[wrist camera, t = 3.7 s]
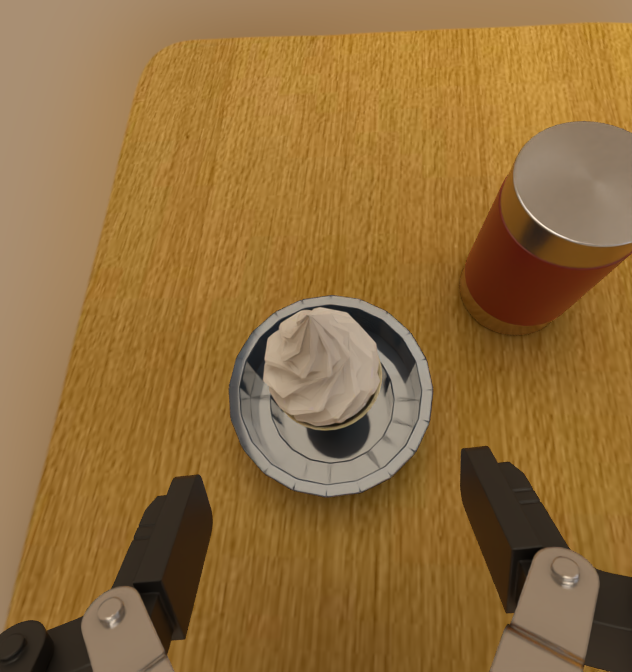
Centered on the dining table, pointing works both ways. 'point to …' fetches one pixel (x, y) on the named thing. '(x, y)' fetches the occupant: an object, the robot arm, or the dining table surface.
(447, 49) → the dining table surface
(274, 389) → the ice cream cone
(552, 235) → the tin can
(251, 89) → the dining table surface
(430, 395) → the bowl
